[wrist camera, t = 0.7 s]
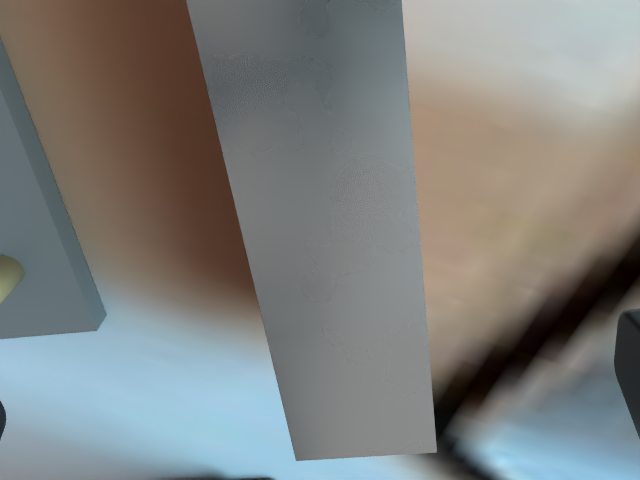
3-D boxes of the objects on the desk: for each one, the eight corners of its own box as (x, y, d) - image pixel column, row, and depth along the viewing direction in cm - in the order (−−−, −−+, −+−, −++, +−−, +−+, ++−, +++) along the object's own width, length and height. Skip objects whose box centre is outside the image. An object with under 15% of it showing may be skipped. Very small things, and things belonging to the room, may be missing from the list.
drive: (415, 306, 23) (436, 452, 17) (312, 315, 23) (295, 460, 17) (369, -210, 15) (379, -289, 9) (217, -181, 16) (129, -237, 10)
